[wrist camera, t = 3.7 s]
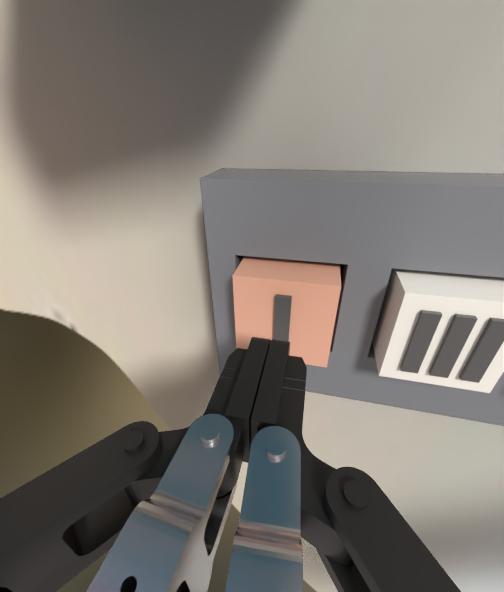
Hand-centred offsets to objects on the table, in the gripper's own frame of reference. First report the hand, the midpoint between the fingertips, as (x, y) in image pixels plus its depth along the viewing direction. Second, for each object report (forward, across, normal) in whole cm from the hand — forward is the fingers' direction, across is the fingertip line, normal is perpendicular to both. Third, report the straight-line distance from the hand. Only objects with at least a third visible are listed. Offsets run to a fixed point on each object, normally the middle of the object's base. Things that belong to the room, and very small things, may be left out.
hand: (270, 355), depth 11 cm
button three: (+5, -7, 0) cm, 9 cm away
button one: (+5, 0, 0) cm, 5 cm away
